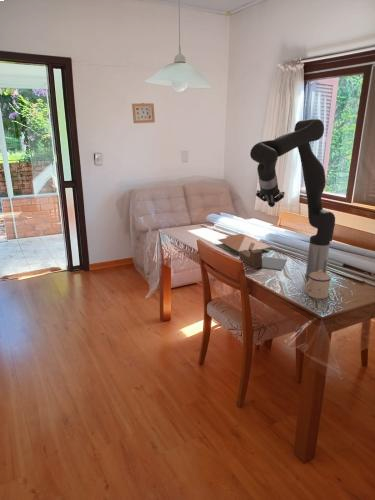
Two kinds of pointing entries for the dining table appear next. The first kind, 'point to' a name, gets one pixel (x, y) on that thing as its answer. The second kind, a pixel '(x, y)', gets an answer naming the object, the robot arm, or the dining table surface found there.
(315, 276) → the teacup with lid
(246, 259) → the wooden block
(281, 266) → the mat
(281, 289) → the dining table surface
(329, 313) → the dining table surface
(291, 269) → the dining table surface
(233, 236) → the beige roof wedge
